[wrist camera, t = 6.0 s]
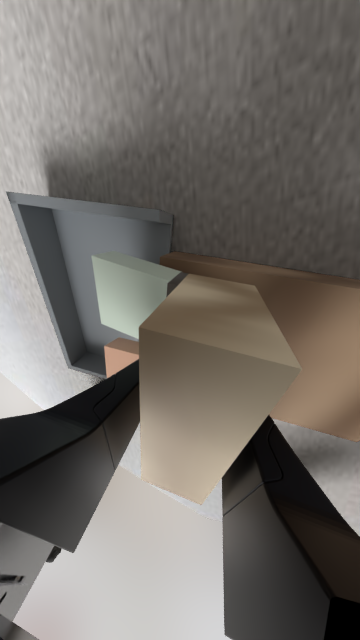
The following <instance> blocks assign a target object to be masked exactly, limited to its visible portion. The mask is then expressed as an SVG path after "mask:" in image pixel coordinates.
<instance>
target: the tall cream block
mask: <svg viewBox="0 0 360 640" xmlns="http://www.w3.org/2000/svg"><path fill="white" fill-rule="evenodd" d="M301 370H302V368H301V366H300V364H299V362H298V361H297V359H296V357H295V355H294V353H293V352H292V350H291V348H290V346H289V345H288V343H287V341H286V339H285V338H284V336H283V334H282V332H281V331H280V329H279V327H278V325H277V324H276V322H275V320H274V318H273V317H272V315H271V313H270V311H269V309H268V308H267V306H266V304H265V302H264V301H263V299H262V297H261V295H260V294H259V292H258V290H257V288H256V287H255V286H253V285H248V284H243V283H237V282H232V281H227V280H221V279H216V278H210V277H205V276H200V275H194V274H189V273H184V272H180V273H179V274H178V275H177V276H175V277H174V278H173V279H172V280H171V281H170V282H168V283H167V295H166V299H165V300H164V301H163V302H162V303H161V304H160V305H159V306H158V307H157V308H156V309H155V310H154V311H153V312H152V313H151V315H150V316H149V317H148V318H147V319H146V320H145V321H144V322H143V323H142V324H141V325H140V326H139V381H140V438H141V480H143V481H145V482H148V483H150V484H152V485H155V486H157V487H159V488H162V489H164V490H167V491H169V492H171V493H174V494H176V495H178V496H181V497H183V498H186V499H188V500H190V501H193V502H195V503H197V504H200V505H202V504H203V502H204V501H205V500H206V498H207V497H208V496H209V494H210V493H211V491H212V490H213V489H214V487H215V486H216V485H217V483H218V482H219V481H220V479H221V478H222V477H223V475H224V474H225V473H226V471H227V470H228V469H229V467H230V466H231V465H232V463H233V462H234V461H235V459H236V458H237V456H238V455H239V454H240V452H241V451H242V450H243V448H244V447H245V446H246V444H247V443H248V442H249V440H250V439H251V438H252V436H253V435H254V434H255V432H256V431H257V430H258V428H259V427H260V426H261V424H262V423H263V421H264V420H265V419H266V417H267V416H268V415H269V413H270V412H271V411H272V409H273V408H274V407H275V405H276V404H277V403H278V401H279V400H280V399H281V397H282V396H283V395H284V393H285V392H286V391H287V389H288V388H289V386H290V385H291V384H292V382H293V381H294V380H295V378H296V377H297V376H298V374H299V373H300V372H301Z"/></svg>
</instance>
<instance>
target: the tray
mask: <svg viewBox="0 0 360 640" xmlns="http://www.w3.org/2000/svg"><path fill="white" fill-rule="evenodd" d="M6 193H7V196H8V199H9V201H10V204H11V207H12V210H13V213H14V216H15V218H16V221H17V224H18V227H19V230H20V233H21V236H22V238H23V241H24V244H25V247H26V250H27V253H28V255H29V258H30V261H31V264H32V267H33V270H34V272H35V275H36V278H37V281H38V284H39V287H40V289H41V292H42V295H43V298H44V301H45V304H46V306H47V309H48V312H49V315H50V318H51V321H52V324H53V326H54V329H55V332H56V335H57V338H58V341H59V343H60V346H61V349H62V352H63V355H64V358H65V360H66V363H67V366H68V368H70V369H73V370H76V371H80V372H83V373H87V374H90V375H93V376H97V377H100V378H104V379H107V374H106V362H105V351H104V346H105V345H107V344H108V343H110V342H112V341H113V340H115V339H117V338H119V337H120V338H124V339H128V340H133V341H137V342H139V339H137V338H135V337H132V336H130V335H127V334H125V333H123V332H120V331H118V330H115V329H113V328H111V327H108V326H106V325H103V324H101V318H100V311H99V304H98V298H97V291H96V284H95V277H94V270H93V263H92V255H97V254H101V253H106V252H111V251H116V252H119V253H122V254H126V255H129V256H132V257H135V258H139V259H142V260H145V261H149V262H152V263H155V264H158V265H160V256H163V255H166V254H169V253H170V252H171V239H172V227H173V215H172V214H169V213H167V212H164V211H162V210H158V209H149V208H141V207H132V206H124V205H115V204H107V203H98V202H90V201H82V200H73V199H65V198H56V197H48V196H39V195H31V194H22V193H14V192H6Z"/></svg>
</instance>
